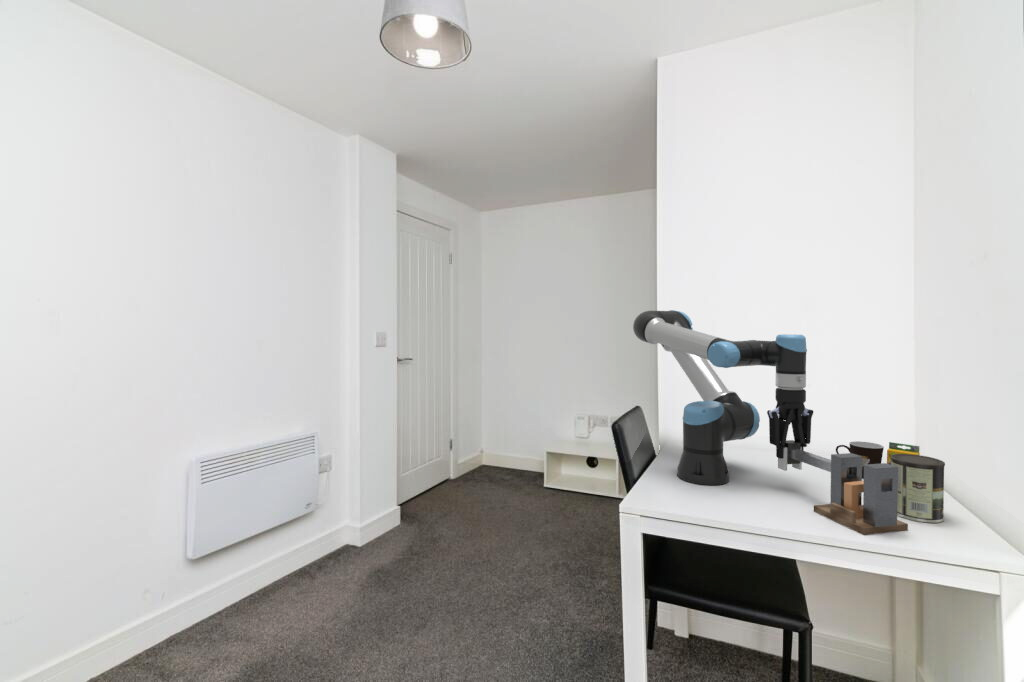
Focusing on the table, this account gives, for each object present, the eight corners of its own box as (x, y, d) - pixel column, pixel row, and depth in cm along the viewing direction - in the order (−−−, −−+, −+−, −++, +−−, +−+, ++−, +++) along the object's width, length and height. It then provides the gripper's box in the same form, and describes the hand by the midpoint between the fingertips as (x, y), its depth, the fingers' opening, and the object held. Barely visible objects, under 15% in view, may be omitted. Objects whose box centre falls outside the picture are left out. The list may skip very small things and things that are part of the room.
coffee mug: (890, 479, 145) (890, 447, 144) (869, 482, 142) (869, 449, 142) (853, 468, 156) (853, 438, 156) (833, 470, 153) (833, 440, 153)
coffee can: (924, 508, 122) (925, 454, 122) (955, 524, 112) (956, 465, 112) (880, 505, 124) (881, 452, 123) (906, 522, 114) (907, 464, 113)
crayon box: (886, 481, 143) (886, 443, 142) (888, 479, 145) (888, 441, 145) (917, 487, 138) (918, 447, 137) (919, 485, 140) (919, 446, 139)
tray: (813, 511, 121) (813, 495, 120) (853, 507, 123) (853, 492, 123) (863, 534, 107) (864, 517, 107) (907, 530, 109) (908, 513, 109)
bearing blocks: (830, 507, 119) (831, 454, 119) (850, 505, 120) (851, 453, 120) (875, 527, 107) (876, 468, 107) (897, 525, 108) (898, 466, 108)
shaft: (780, 461, 137) (780, 440, 137) (792, 460, 138) (792, 440, 138) (838, 483, 118) (838, 459, 118) (851, 482, 119) (852, 458, 118)
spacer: (843, 515, 114) (844, 482, 114) (870, 512, 116) (870, 479, 116) (851, 518, 112) (851, 485, 112) (878, 515, 114) (878, 482, 114)
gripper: (773, 390, 130) (773, 474, 131) (827, 388, 133) (826, 470, 134) (755, 387, 138) (754, 466, 138) (805, 385, 141) (805, 463, 141)
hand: (789, 468), depth 136 cm, fingers closed on shaft, 4 cm apart
